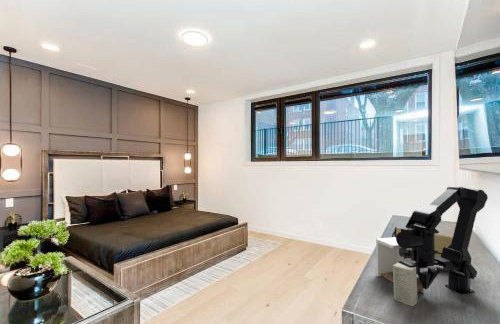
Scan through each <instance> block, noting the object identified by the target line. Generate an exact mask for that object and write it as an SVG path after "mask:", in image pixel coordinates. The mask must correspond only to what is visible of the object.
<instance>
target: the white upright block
mask: <svg viewBox="0 0 500 324" xmlns="http://www.w3.org/2000/svg"><path fill="white" fill-rule="evenodd" d="M375 244H376V247H375V248H376V250H375V251H376V255H375V256H376V276H377V277H383V276H382V273H390V272H393V265H394V264H396V263H397V262H399V261H403V260H408V261H411V262H413V263H416V261H412V260H411V258H406V259H404V258H403V257H401V256H400V255H399V248H401V247H400V246H399V245H398V244H397V241H396V237H394V236H393V237H392V236H391V237H380V238H375ZM410 249H412V248H408V249H407V250H410Z"/></svg>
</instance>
